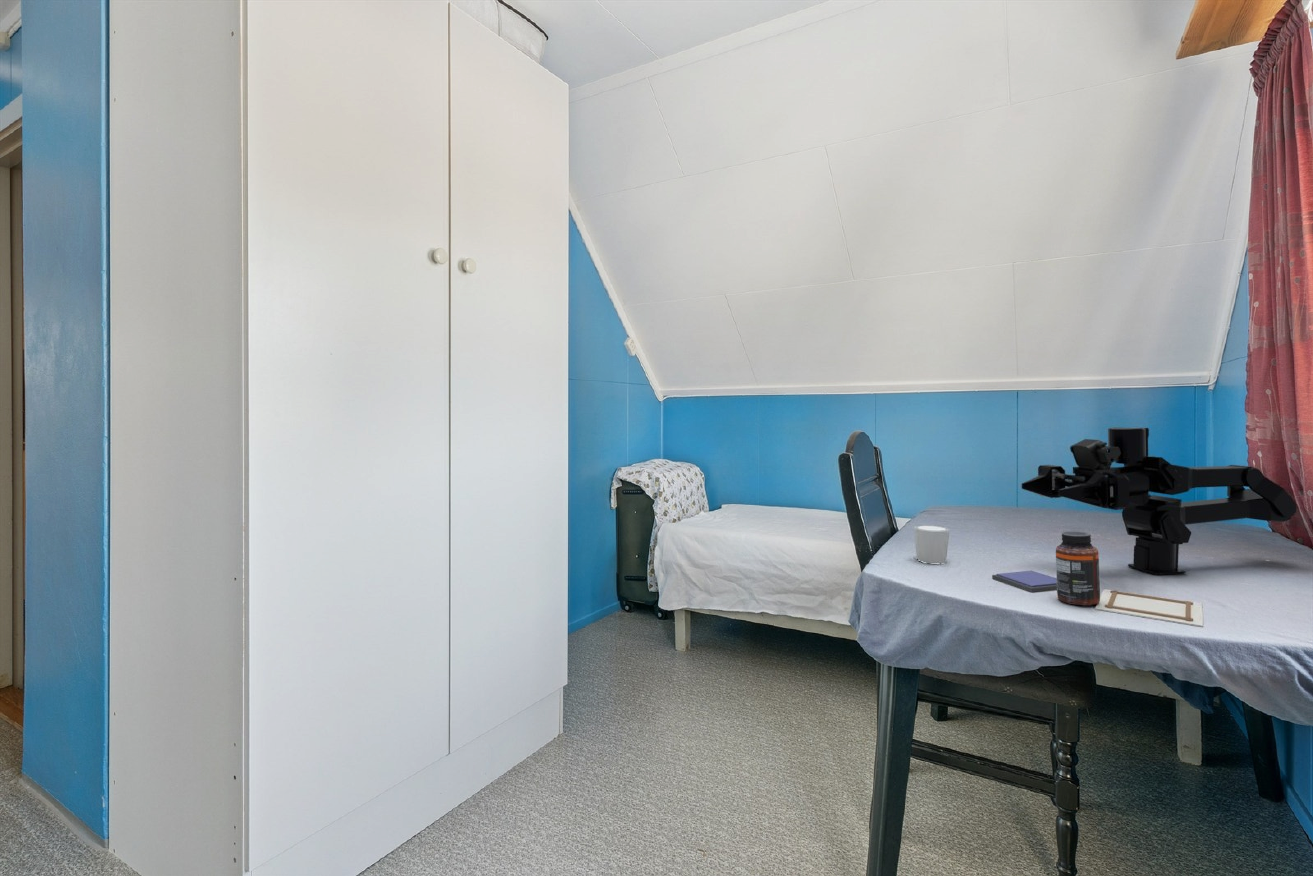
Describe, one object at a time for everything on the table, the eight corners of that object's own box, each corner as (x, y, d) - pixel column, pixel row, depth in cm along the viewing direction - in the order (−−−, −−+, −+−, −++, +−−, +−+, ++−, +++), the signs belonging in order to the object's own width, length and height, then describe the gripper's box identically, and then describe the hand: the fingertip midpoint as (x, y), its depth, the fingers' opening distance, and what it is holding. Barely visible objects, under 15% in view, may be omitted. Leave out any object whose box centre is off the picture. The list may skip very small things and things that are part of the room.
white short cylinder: (907, 557, 136) (907, 525, 135) (938, 556, 136) (938, 524, 136) (923, 565, 129) (924, 531, 128) (956, 564, 129) (956, 530, 129)
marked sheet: (1103, 590, 111) (1103, 587, 111) (1201, 604, 103) (1202, 601, 103) (1095, 609, 101) (1095, 606, 101) (1203, 627, 93) (1203, 623, 93)
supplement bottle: (1087, 596, 107) (1085, 529, 107) (1108, 606, 102) (1107, 536, 101) (1049, 596, 108) (1048, 530, 108) (1068, 607, 102) (1067, 537, 102)
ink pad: (1031, 574, 121) (1031, 569, 121) (1073, 588, 112) (1073, 582, 112) (992, 578, 119) (992, 573, 119) (1031, 592, 110) (1031, 586, 110)
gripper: (1073, 437, 129) (1004, 443, 127) (1158, 443, 111) (1079, 450, 109) (1075, 491, 130) (1005, 498, 128) (1159, 506, 111) (1080, 514, 109)
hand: (1039, 489), depth 118 cm, fingers open, 9 cm apart
